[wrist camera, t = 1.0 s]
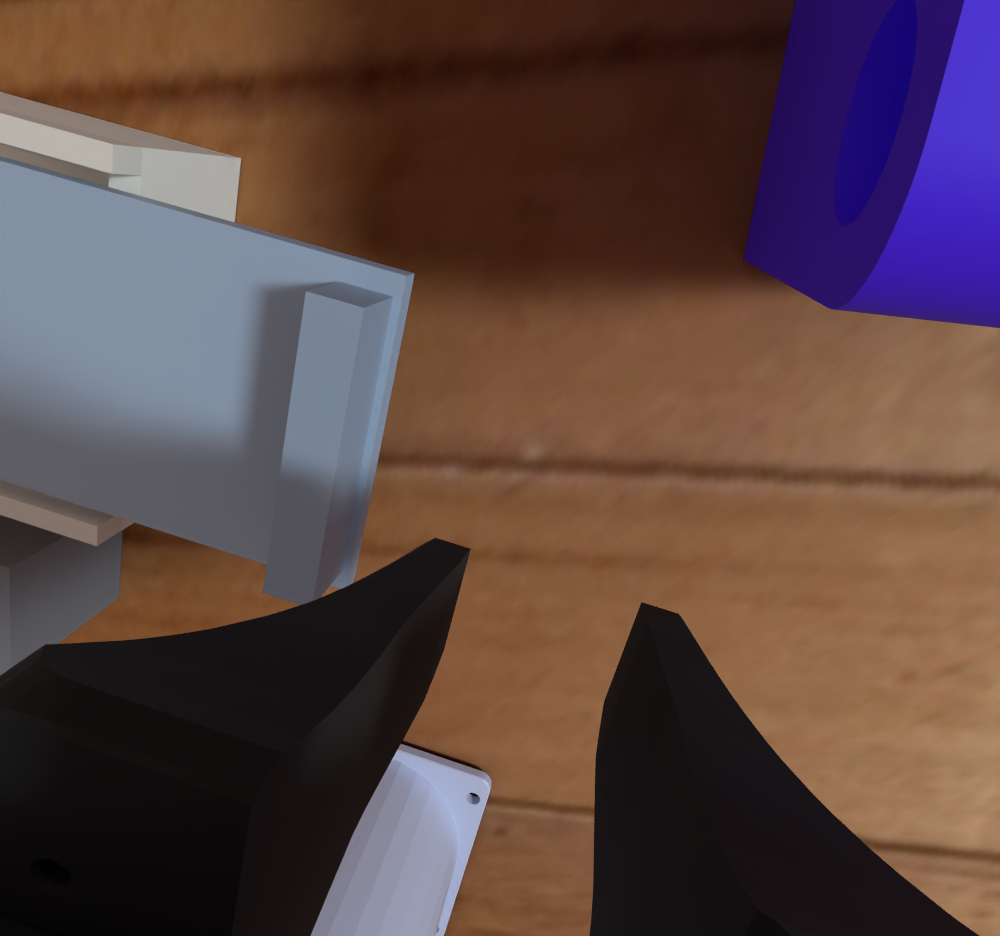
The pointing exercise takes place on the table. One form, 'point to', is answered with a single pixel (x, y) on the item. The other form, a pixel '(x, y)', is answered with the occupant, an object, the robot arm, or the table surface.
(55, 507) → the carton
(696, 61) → the table surface
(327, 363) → the lid
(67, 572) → the rubber block
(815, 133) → the bracket
